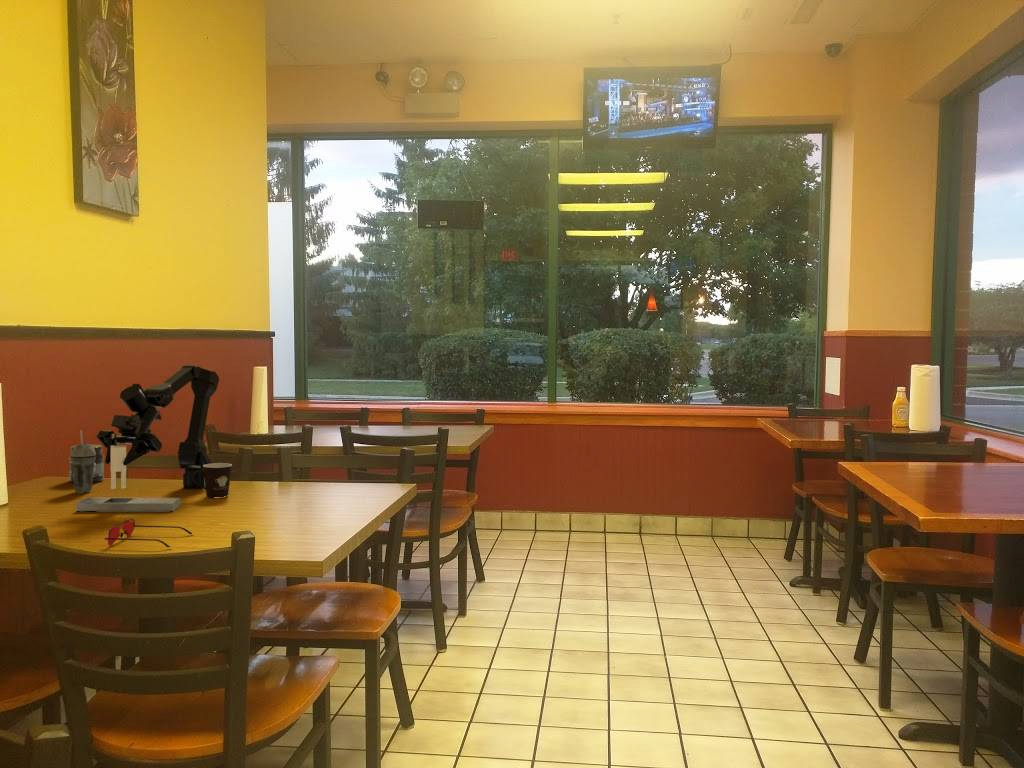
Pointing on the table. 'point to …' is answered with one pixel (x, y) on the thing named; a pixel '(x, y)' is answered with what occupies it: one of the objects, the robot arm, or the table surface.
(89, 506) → the rail
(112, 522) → the table surface
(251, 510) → the table surface
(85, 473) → the beverage cup
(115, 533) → the glasses
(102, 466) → the supplement container
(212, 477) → the coffee mug
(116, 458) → the clip
